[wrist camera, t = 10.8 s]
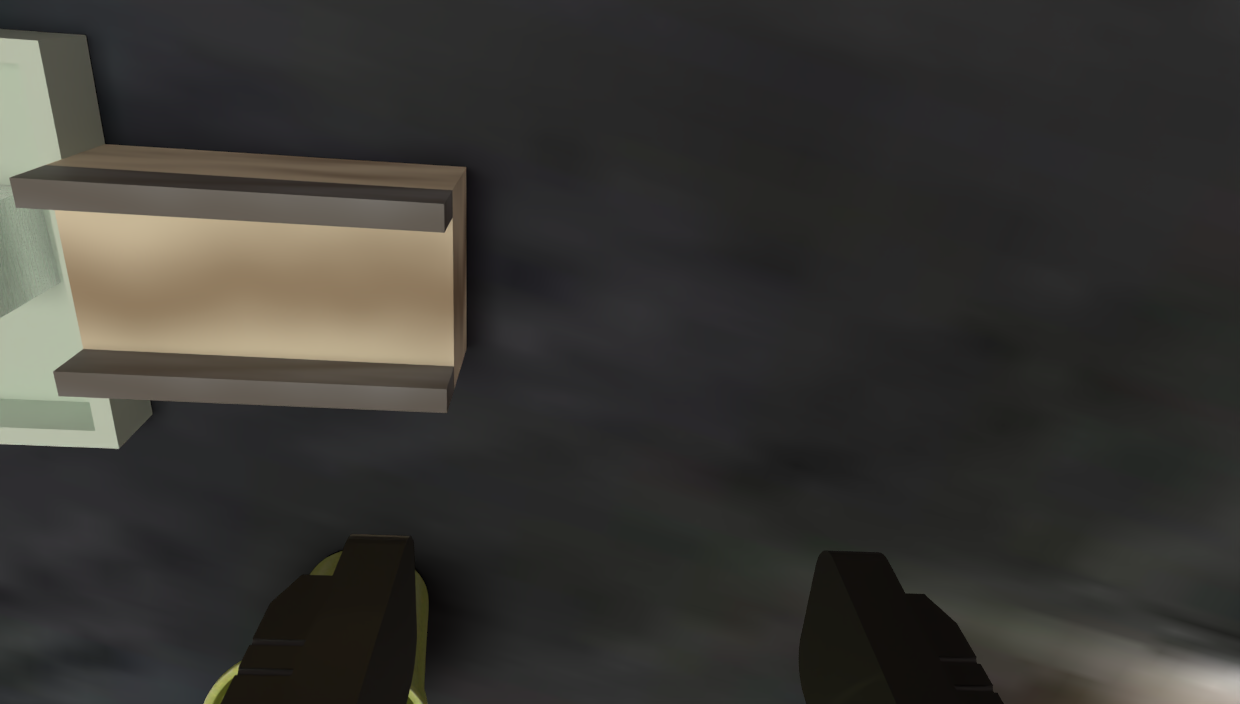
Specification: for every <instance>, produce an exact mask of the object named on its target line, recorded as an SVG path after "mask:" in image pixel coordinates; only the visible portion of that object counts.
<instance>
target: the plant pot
mask: <svg viewBox="0 0 1240 704" xmlns="http://www.w3.org/2000/svg"><path fill="white" fill-rule="evenodd" d="M341 554H342V551H340V552H338V553H335V554H333V555H331V556H329V557H327V558H325V559H324V560H323V561H321V562H320V563H319V564H318V565H317V566H316V567H315V568H314V570H313V571H312V572H311V573H310V575H331V576H332V575H333V573H334V571H335V568H336V566H337V563H338V561H339V559H340V556H341ZM415 586H416V616H417V645H416V657H415V665H414V672H413V678H412V683H411V687H410V691H409V696H408V700H407V704H427V698H426V694H425V690H424V678H425V657H426V640H427V626H428V611H429V600H428V592H427V588H426V585H425V583H424V581H423V579H422V578H421V576H420V575H419V574H418V572H417V571H416V570H415ZM240 663H241V661H240V662H239V663H237V664H235V665H234V666H233V667H231V668H230V669H229V670H227V671H226V672H225V673H224V674H223V675H222V676H221V677H220V678H219V679H218V680H217V682H216V683H215V684H214V686H213V687H212V689H211V690H210V692H209V694H208V695H207V697H206V699H205V702H204V704H221V702H222V700H223V698H224V696H225V694H226V691H227V689H228V687H229V685H230V683H231V681H232V679H233V677H234V675H237V674H238V667H239V665H240Z"/></svg>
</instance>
